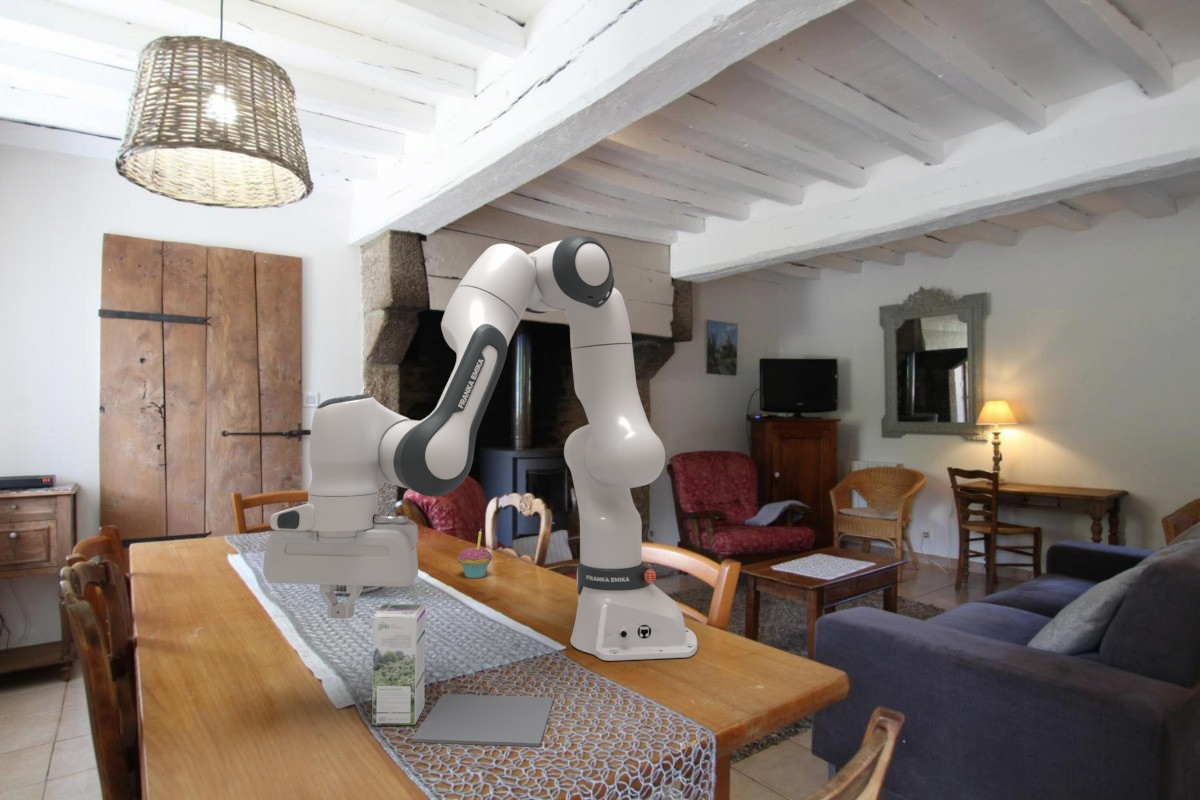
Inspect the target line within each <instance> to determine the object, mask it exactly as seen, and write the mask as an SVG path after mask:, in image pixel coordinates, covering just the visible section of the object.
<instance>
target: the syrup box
mask: <svg viewBox="0 0 1200 800" xmlns="http://www.w3.org/2000/svg"><path fill="white" fill-rule="evenodd" d="M426 613H427V612H426V604H425V603H385V604H383V605H382V606H381V607H379V609H377V611H376V612H375V614H374V615H373V618H372V625H373V627H372V695H371V696H372V699H371V701H372V702H371V703H372V704H371V705H372V707H371V709H372V710H371V713H372V715H371V719H372V720H371V725H372V726H415V725H416V723H417V722H418V720H419V718H420V716H421V714H422V712H423V710H424V708H425V702H426V701H425V698H426V697H425V668H426V667H425V659H426V656H425V655H426V653H425V652H426Z"/></svg>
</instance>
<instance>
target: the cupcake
mask: <svg viewBox="0 0 1200 800" xmlns="http://www.w3.org/2000/svg"><path fill="white" fill-rule="evenodd" d="M481 540H482V529H480V531H478V537H477V546H475V547H474V546H472V547H467V548H464V549H463V550H461V552H459V554H458V555H457V558H456V561H457V563H458V564H461V567H462V569H463V573H464V576H465V577H466V578H468V579H479V578H484V577H485V576H486V572H487V569H488V566H489V564H490V563H491V562H492V560H493V559H492V558H493V555H492V554H491V552H490V551H489V550H488V549H487V548H484V547H481V542H482V541H481Z"/></svg>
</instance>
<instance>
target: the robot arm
mask: <svg viewBox="0 0 1200 800" xmlns="http://www.w3.org/2000/svg"><path fill="white" fill-rule="evenodd" d="M614 286H615V276H614V269H613V264H612V261H611V258H610V255H609V253H608V251H607V249H606V248H605V246H604V245H603V244H602V243H601V242H600V241H599V240H598V239H596V238H595V237H592V236H589V235H588V236H587V235H571V236H568V237H565V238H564V239H561V240H558V241H553V242H551V243H548V244H545V245H543V246H541V247H539V248H538V249H536V250H535V251H532V252H530V253H526V252H525V251H524V250H522V249H521V248H519V247H517V246H516V245H512V244H509V243H496V244H492V245H491V246H489V247H487V249H485V250H484V251H483V253H481V254H480V255H479V256H478V258H477V259H476V261H474V263H473V264H472V265H471V266H470V268H469V269H468V270H467V272H466V274H465V275H464V276H463V277H462V279H461V281H460V283H459V284H458V285H457V287H456V289H455V290H454V292H453V294H452V296H451V297H450V299H449V300H448V303H447V305H446V308H445V310H444V314H443V316H442V319H441V322H440V327H441V332H442V335H443V338H444V340H445V342H446V343H447V345H448V346H449V348H450V349H452V350H453V351H454V352H455V353H456V361H455V363H454V364H455V365H454V367H453V370H452V371H451V374H450V377H449V378H448V381H447V383H446V385H445V386H444V389H443V391H442V394H441V395H440V398H439V400H438V402H437V405H436V406H435V408H434V410H432V412H430V414H429V415H427V416H426V417H424V418H422V419H421V420H417V419H416V420H415V419H410V418H409V417H407V416H404V415H402V414H400V413H397V412H396V411H393V410H391V409H390V408H388V407H386V406H384V405H383V404H382V403H380V402H378V401H377V399H376V398H375V397H374V396H372V395H369V394H356V395H346V396H340V397H332V398H329V399H326V400H324V401H322V402H321V403H320V404H319V405H318V406H317V407H316V409H315V410H314V414H313V417H312V423H311V430H310V436H309V437H310V438H309V450H308V451H309V453H308V454H309V455H308V463H309V467H310V470H311V480H310V484H309V487H308V491H307V493H308V495H307V498H308V499H307V502H303V503H299V504H296V505H295V506H294V507H290V508H286V509H284V510H281V511H277V512H275V513H273V514H271V516H270V518H269V526H270V527H271V530H273V531H272V532H271V533H269V535H268V537H267V539H266V541H265V547H264V555H263V569H262V570H263V571H262V573H263V577H264V579H266V581H267V582H268V583H269V584H287V585H288V584H290V585H319V594H320V596H321V598H322V599H323V601H324V603H325V605H326V606H327V613H326V614H327V615H326V616H327V618H328V619H351V618H352V617H353V616H354V614H355V603H356V602H357V600H358V598H359V597H360V596H361V593H362V592H363V590H364V587H383V588H384V587H388V588H389V587H390V588H393V587H395V588H405V587H407V586H409V585H410V584H412V583H413V582H414V581H415V580H416V579H417V577H418V576H419V563H418V562H419V560H418V552H417V545H418V543H419V527H418V525H417V523H416V522H415V521H414V520H413V519H410V518H409V517H408V516H407V515H395V516H394V515H386V514H385V515H384V514H378V510H379V509H378V502H379V501H378V500H379V487H380V485H381V484H383V483H388V484H391V485H395V486H396V487H400V488H404V489H408V490H411V491H413V492H415V493H417V494H420V495H422V496H424V497H431V498H432V497H433V498H435V497H437V498H438V497H443V496H445V495H448V494H450V493H452V492H453V491H455V490H456V489H458V488H459V487H460V486H461V485H463V483H464V481H466V478H468V475H469V473H470V472H471V468H472V465H473V461H474V456H475V448H476V447H475V445H476V440H477V435H478V430H479V428H480V426H481V422H482V420H483V418H484V415H485V412H486V410H487V407H488V405H489V403H490V400H491V398H492V396H493V394H494V393H493V392H494V391H495V388H496V386H497V384H498V382H499V381H498V380H499V379H500V376H501V374H502V371H503V368H504V366H505V362H506V359H507V356H508V355H507V354H508V348H509V345H510V342H511V340H512V337H513V336H514V334H515V331H516V329H517V328H518V326H519V324H520V322H521V320H522V318H523V316H524V314H525V312H526V313H531V314H539V315H540V314H546V313H548V312H556V311H562V312H563V314H564V316H565V317H566V320H567V323H568V325H569V333H570V334H569V336H570V337H569V339H570V340H569V341H570V352H571V353H570V354H571V363H572V374H573V375H572V376H573V385H574V392H575V395H576V396H577V398H578V400H579V401H580V403H581V405H582V407H583V410H584V412H585V415H586V418H587V421H588V424H586V425H584V426H581V427H579V428H577V429H575V430H573V432H571V433H570V435H568V437H567V438H566V440H565V443H564V448H563V456H564V460H565V463H566V465H567V467H568V468H569V470H570V473H571V477H572V482H573V487H574V491H575V496H576V497H575V498H576V503H577V508H578V515H579V561H578V563H577V568H576V590H577V594H578V597H577V598H578V601H577V609H576V613H575V614H576V616H575V620H574V624H573V625H574V626H573V630H572V633H571V636H570V639H569V640H570V644H571V645H572V646H573V647H574V648H575V649H577V650H579V651H581V652H583V653H584V652H585V653H588V654H590V655H594V656H595V657H597V658H598V659H600V660H603V661H609V662H610V661H611V662H612V661H615V662H616V661H630V660H631V661H633V660H655V659H656V660H657V659H660V660H661V659H676V658H677V659H678V658H680V659H681V658H690V657H692V656H693V655H695V654H696V652H697V650H698V639H697V636H696V634H695V632H694V631H692V630H691V629H690V628H688V627H686V626H685V625H686V624H685V619H684V616H683V613H682V610H681V607H680V605H678V603H677V602H676V601H675V600H674V599H673V598H671V597H670V596H669V595H668V594H666V593H665V592H664V591H662V590H661V589H660V588H659V587H657V586H656V585H655V583H654V582H655V581H656V579H657V576H656V572H655V570H654V568H653V567H652V566H651V564H650V563H646V562H645V561H643V559H642V553H643V552H642V550H643V549H642V548H643V547H642V546H643V544H642V543H643V541H642V538H643V537H642V535H643V534H642V532H643V531H642V530H643V529H642V528H643V526H642V525H643V524H642V523H643V522H642V518H641V514H640V512H639V511H638V509H637V508H636V505H635V503H634V500H633V496H632V493H631V489H632V488H633V489H634V488H639V487H643V486H646V485H650V484H651V483H653V482H654V481H655V480H657V479H658V478H659V476H660V475H661V473H662V471H663V470H664V466H665V462H666V450H665V447H664V443H663V441H662V439H660V437H659V436H658V435H657V434H656V432H654V429H652V426H651V424H650V423H649V420H648V418H647V415H646V412H645V409H644V407H643V404H642V401H641V397H640V394H639V390H638V385H637V379H636V370H635V369H636V368H635V360H634V347H633V339H632V332H631V326H630V320H629V315H628V311H627V308H626V304H625V301H624V298H623V295H622V293H621V292H620V290H618V289H617V288H615V287H614ZM337 586H346V589H345V590H346V594H349V596H348V598H347V600H346V601H339V600H338V598H337V595H336V593H335V592H334V590H336V589H337Z"/></svg>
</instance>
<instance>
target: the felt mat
mask: <svg viewBox="0 0 1200 800" xmlns="http://www.w3.org/2000/svg"><path fill="white" fill-rule="evenodd" d="M554 699H555V697H545V696H542V697H541V696H515V695H513V696H511V695H482V694H481V695H480V694H479V695H478V694H458V693H457V694H455V693H454V694H452V693H451V694H450V693H443V694H442V695H441V696H440V697H439V699H438V700H437V702H436V703H435V704H434V706H433V708H432V709H431V710H430V712H429V713H428V715H427V716H426V717H425V719H424V721H423V722H422V723H421V725H420V726H419V727H418V729H417V730H416V731H415V733H414V734H413V736H412V737H411V743H426V744H429V743H430V744H452V745H453V744H455V745H456V744H458V745H459V744H460V745H479V746H481V745H482V746H483V745H484V746H488V745H489V746H509V747H511V746H512V747H513V746H514V747H515V746H516V747H539V748H540V747H541V744H542V740H543V737H544V733H545V730H546V728H545V727H547V725H548V724H547V723H548V720H549V718H550V713H551V710H552V707H553V704H554Z"/></svg>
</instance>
